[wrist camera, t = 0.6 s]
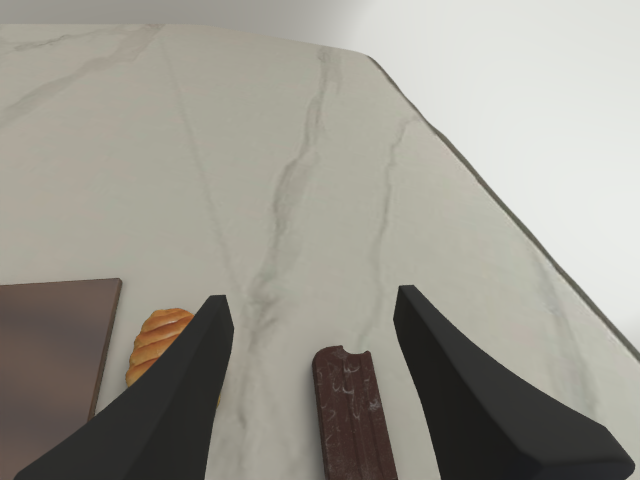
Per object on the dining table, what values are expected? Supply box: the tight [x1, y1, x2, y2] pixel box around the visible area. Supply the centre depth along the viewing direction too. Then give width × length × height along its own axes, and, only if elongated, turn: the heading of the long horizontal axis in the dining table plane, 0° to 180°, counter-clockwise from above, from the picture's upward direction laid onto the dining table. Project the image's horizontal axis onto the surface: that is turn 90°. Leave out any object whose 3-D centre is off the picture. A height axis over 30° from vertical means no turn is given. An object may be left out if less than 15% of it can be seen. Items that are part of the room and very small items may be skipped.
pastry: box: [125, 308, 221, 407], centre depth 23 cm, size 9×7×4 cm
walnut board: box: [0, 278, 122, 480], centre depth 21 cm, size 22×11×1 cm, turn 8°
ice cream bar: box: [312, 345, 398, 480], centre depth 23 cm, size 5×2×15 cm
